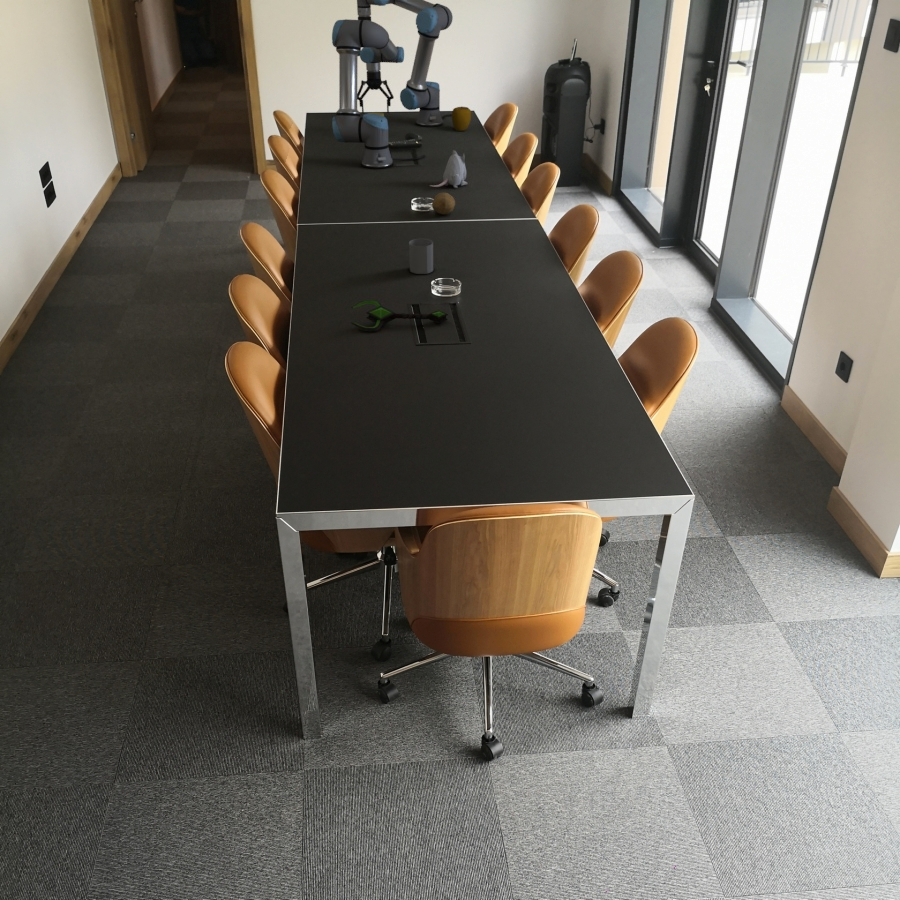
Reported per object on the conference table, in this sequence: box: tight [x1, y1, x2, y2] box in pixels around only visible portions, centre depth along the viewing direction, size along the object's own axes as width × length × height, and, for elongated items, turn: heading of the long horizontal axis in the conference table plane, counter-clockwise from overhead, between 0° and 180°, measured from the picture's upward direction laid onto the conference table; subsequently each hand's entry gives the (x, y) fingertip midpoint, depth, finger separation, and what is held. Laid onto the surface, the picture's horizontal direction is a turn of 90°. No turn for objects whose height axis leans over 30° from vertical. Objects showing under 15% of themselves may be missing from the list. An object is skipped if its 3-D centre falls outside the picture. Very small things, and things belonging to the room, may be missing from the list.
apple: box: [451, 105, 472, 132], centre depth 487 cm, size 11×11×13 cm
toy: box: [428, 149, 468, 189], centre depth 390 cm, size 9×24×15 cm, turn 137°
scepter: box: [350, 299, 449, 332], centre depth 268 cm, size 6×13×30 cm
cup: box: [408, 237, 434, 275], centre depth 305 cm, size 8×8×10 cm
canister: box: [367, 111, 385, 117], centre depth 474 cm, size 9×9×12 cm
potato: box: [431, 192, 456, 216], centre depth 360 cm, size 10×14×8 cm
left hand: (375, 112), depth 471 cm, fingers open, 13 cm apart
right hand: (366, 57), depth 496 cm, fingers open, 13 cm apart
